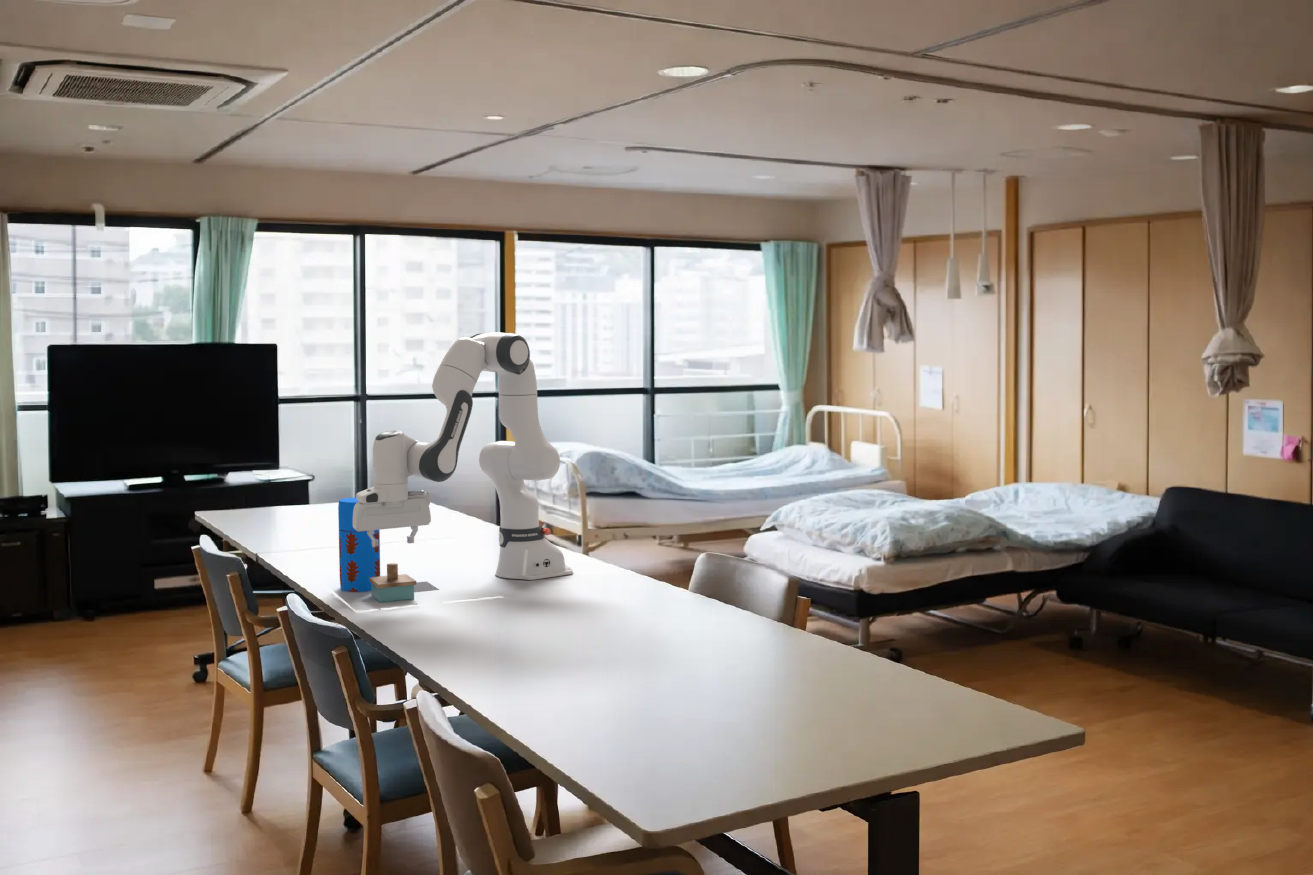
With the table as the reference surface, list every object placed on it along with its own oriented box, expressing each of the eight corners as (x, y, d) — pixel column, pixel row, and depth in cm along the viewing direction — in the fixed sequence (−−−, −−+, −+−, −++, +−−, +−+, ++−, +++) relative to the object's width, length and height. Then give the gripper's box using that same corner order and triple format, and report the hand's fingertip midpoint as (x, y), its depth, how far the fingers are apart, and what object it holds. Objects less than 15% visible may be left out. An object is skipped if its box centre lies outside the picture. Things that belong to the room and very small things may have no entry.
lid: (406, 577, 323) (405, 559, 323) (416, 584, 314) (416, 565, 314) (369, 581, 318) (368, 562, 318) (378, 588, 310) (378, 569, 309)
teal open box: (404, 594, 323) (404, 578, 322) (414, 601, 315) (413, 584, 314) (371, 598, 318) (371, 581, 318) (380, 604, 311) (379, 587, 310)
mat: (426, 583, 337) (426, 581, 337) (439, 591, 327) (439, 589, 326) (384, 587, 332) (384, 585, 332) (396, 596, 321) (396, 593, 321)
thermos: (370, 594, 322) (368, 503, 320) (333, 593, 324) (331, 501, 322) (386, 586, 333) (385, 497, 331) (350, 585, 335) (349, 496, 333)
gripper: (426, 488, 322) (428, 538, 323) (349, 494, 312) (352, 546, 314) (433, 491, 316) (434, 542, 318) (355, 497, 307) (357, 550, 308)
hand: (393, 544), depth 316 cm, fingers open, 8 cm apart
